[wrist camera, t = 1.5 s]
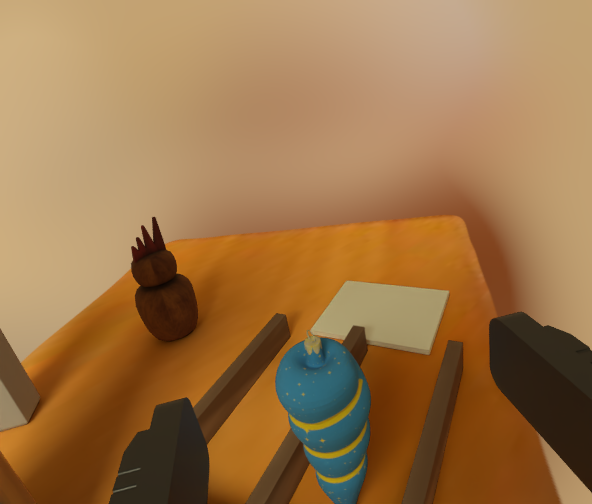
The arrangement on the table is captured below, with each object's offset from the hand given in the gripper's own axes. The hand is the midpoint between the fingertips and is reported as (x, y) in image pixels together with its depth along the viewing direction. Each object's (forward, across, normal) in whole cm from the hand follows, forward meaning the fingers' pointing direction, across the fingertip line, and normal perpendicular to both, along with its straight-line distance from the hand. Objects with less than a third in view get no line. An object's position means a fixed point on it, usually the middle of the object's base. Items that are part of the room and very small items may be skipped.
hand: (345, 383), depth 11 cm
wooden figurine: (+38, +15, +19) cm, 45 cm away
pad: (+31, -10, +19) cm, 38 cm away
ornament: (+10, 0, +20) cm, 23 cm away
